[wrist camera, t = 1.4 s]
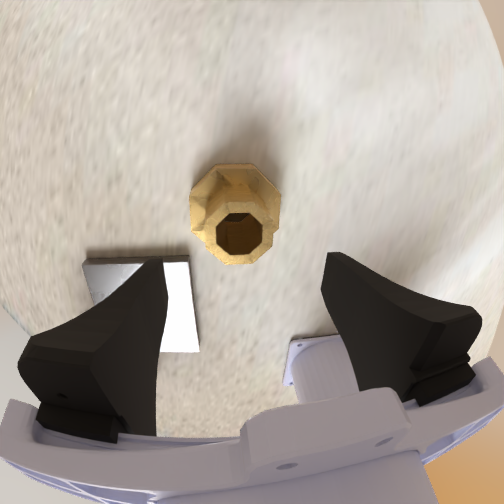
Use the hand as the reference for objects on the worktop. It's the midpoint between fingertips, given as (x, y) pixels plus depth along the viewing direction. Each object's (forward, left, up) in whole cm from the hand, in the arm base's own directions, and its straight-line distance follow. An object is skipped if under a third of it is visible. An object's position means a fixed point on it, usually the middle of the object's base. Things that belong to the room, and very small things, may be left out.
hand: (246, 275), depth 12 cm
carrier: (+8, +9, -9) cm, 15 cm away
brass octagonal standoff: (0, 0, -9) cm, 9 cm away
